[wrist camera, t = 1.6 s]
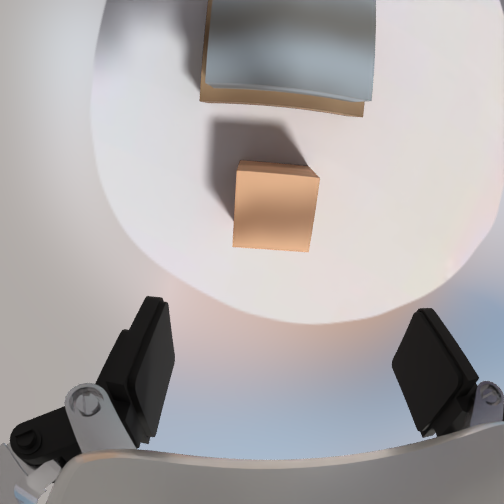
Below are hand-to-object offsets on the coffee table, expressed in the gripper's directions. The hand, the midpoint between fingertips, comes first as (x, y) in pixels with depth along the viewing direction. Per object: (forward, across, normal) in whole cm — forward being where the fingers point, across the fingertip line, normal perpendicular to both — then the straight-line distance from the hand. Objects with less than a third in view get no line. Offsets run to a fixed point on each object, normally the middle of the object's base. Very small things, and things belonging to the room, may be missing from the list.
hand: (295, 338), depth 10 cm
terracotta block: (+18, 0, 0) cm, 18 cm away
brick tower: (+18, 0, -14) cm, 23 cm away
